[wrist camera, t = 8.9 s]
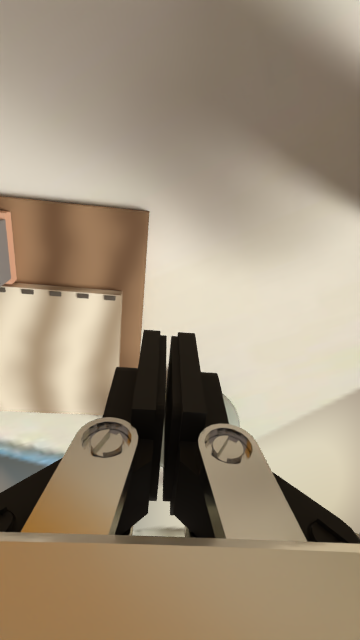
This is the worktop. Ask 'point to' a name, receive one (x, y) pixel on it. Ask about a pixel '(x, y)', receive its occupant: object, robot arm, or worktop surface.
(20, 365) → the pad
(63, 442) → the worktop surface
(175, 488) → the robot arm
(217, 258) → the worktop surface
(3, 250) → the thin pink plank
